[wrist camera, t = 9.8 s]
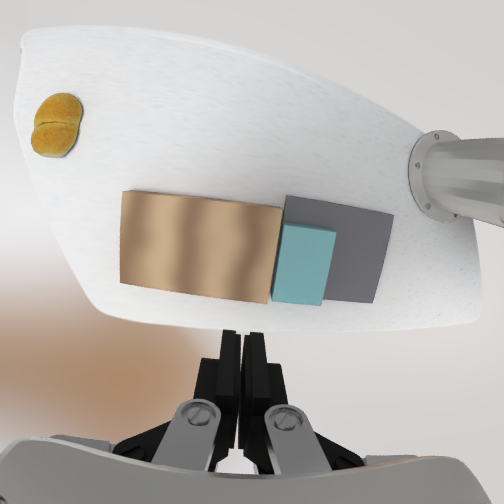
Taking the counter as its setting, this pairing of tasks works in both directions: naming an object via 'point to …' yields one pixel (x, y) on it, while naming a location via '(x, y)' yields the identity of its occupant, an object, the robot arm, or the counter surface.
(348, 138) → the counter surface
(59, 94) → the bread roll
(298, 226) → the teal tile
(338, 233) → the charcoal mat
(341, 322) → the counter surface
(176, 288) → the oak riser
